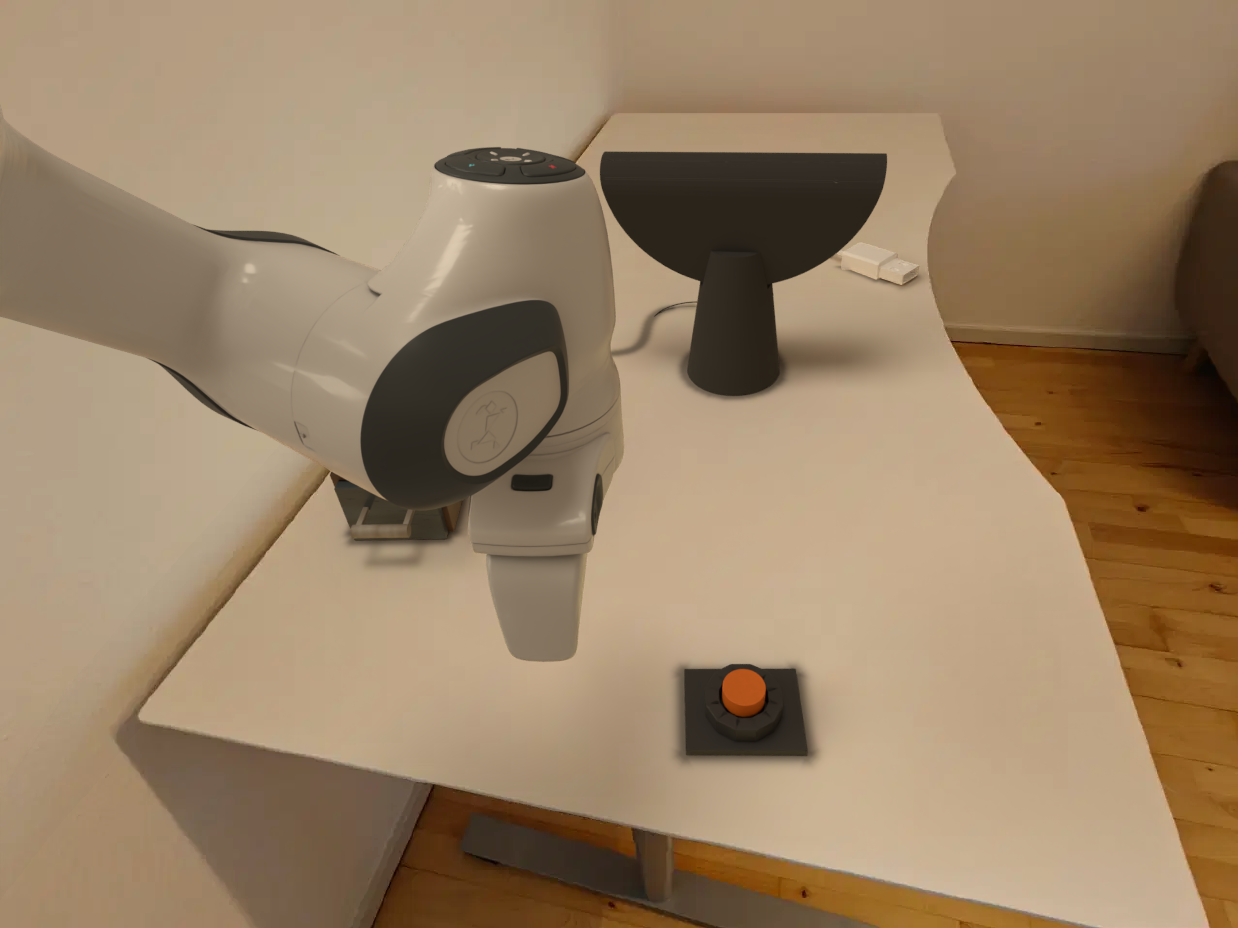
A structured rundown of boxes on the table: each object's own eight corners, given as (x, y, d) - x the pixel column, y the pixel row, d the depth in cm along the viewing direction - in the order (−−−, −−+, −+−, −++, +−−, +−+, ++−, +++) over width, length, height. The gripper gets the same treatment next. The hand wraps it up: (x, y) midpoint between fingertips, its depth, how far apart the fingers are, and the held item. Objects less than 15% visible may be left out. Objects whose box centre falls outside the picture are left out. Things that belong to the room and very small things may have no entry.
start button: (766, 717, 68) (767, 705, 66) (723, 717, 68) (723, 705, 67) (762, 680, 70) (763, 668, 69) (721, 680, 71) (721, 668, 69)
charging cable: (761, 228, 146) (761, 210, 144) (918, 279, 126) (921, 259, 124) (742, 237, 144) (742, 219, 142) (899, 291, 124) (902, 271, 122)
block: (805, 761, 68) (809, 738, 65) (686, 760, 68) (685, 738, 66) (794, 679, 74) (797, 656, 71) (684, 679, 74) (683, 656, 72)
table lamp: (572, 452, 100) (541, 222, 81) (536, 337, 121) (505, 133, 102) (870, 391, 106) (909, 162, 86) (787, 291, 127) (803, 89, 107)
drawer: (438, 567, 86) (422, 514, 81) (343, 568, 87) (321, 516, 82) (469, 459, 99) (456, 408, 94) (386, 461, 100) (369, 411, 95)
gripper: (520, 339, 55) (543, 489, 64) (459, 556, 40) (500, 716, 49) (612, 337, 55) (622, 489, 64) (587, 556, 39) (605, 717, 48)
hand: (569, 589), depth 56 cm, fingers closed
